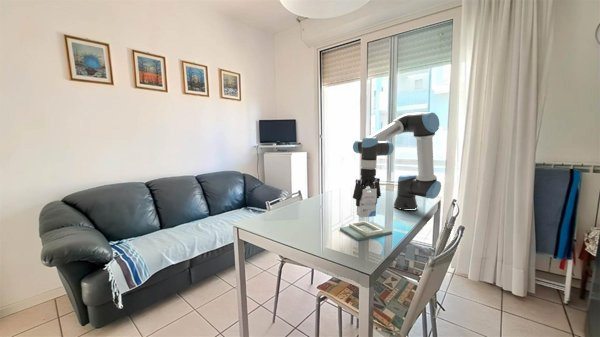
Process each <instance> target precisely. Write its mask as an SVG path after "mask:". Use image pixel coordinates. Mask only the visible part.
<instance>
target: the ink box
mask: <svg viewBox="0 0 600 337" xmlns="http://www.w3.org/2000/svg"><path fill="white" fill-rule="evenodd" d="M371 191H372V192H371ZM358 198H359V197H358ZM360 200H362V205H361V213H359V212H357V211H356V215H357V216H358V217H360V218H371V217H376V215H377V204H376V200H377V201H378V198H377V189H370V188H365V189H363V191H362V197H361V199H360Z"/></svg>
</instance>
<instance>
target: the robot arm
mask: <svg viewBox="0 0 600 337" xmlns="http://www.w3.org/2000/svg"><path fill="white" fill-rule="evenodd" d="M439 128H440V119H439V116H438V115H437V114H436V112H431V111H428V112H427V111H423V112H422V111H421V112H411V113H410V112H409V113H405V114H402V115H401V116H399V117H397V118H395V119H394V120H392V121H390V123H389V124H388V125H386V126H384V127H383V128H381V129H379V130H378V131H376V132H374V133H373V134H371V135H369V136H367V137H363V138H362V140H360V139H358V140H355V141H354V142H353V144H352V150H353V151H354V153H356V154H360V155H361V158H360V167H361V168H360V178H359V179H358V178H357V179H355V186H354V191H353V195H352V199H354V200H355V206H356V213H357V212H359V213H361V205H362V200H360V199H361V197H362V191H363V189H367V187H368V188H369V189H377V200H376V205H377V204H378V199H380V197H381V196H382V195H381V194H382V192H381V186H380V181H381V179H380V177H379V178H378V177H376V175H377V163H378V161H377V157H378V156H385V157H386V156H390V155H391V154H393V152H394V144H393V143H392V142H391V141H388V140H390V139H392V138H393V137H395V136H396V135H397V136H398V135H401V134H403V133H413V137H414V138H416V151H417V152H416V153H417V172H418V174H417V175H416V174H401V175H399V176H398V178H397V192H396V194H397V195H396V197H395V201H394V203H393V207H394V206H395V207H397V208H401V209H415V208H417V207H418V203H417V199H416V197H420V198H421V197H422V198H425V199H432V200H433V199H435V198H438V197H439V195H440V192H441V188H442V183H441V182H440V181H439V180H437V179H438V178H437V176H436V174H434V172H435V171H434V149H433V147H434V145H433V137H434V136H435V135H436V132H437V131H439ZM370 192H372V191H370ZM358 197H359V198H358ZM395 207H394V208H395ZM418 208H419V207H418ZM418 208H417V209H418Z"/></svg>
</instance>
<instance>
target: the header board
mask: <svg viewBox="0 0 600 337" xmlns="http://www.w3.org/2000/svg"><path fill="white" fill-rule="evenodd" d="M348 224H349V225H346V226H342V227H339V230H340V231H341V232H342V233H344V234H345V235H347V236H349V237H351V238H352V239H354V240H356V241H357V242H359V241H363V240H368V239H373V238H377V237H381V236H387V235H390V234H391V235H392V233H393V230H391V229H388V228H386V227H384V226H382V225H380V224H378V223H376V222H374V221H370V222H368V221H366V220H362V221H361V220H360V221H356V222H355V221H354V222H350V223H348Z"/></svg>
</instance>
